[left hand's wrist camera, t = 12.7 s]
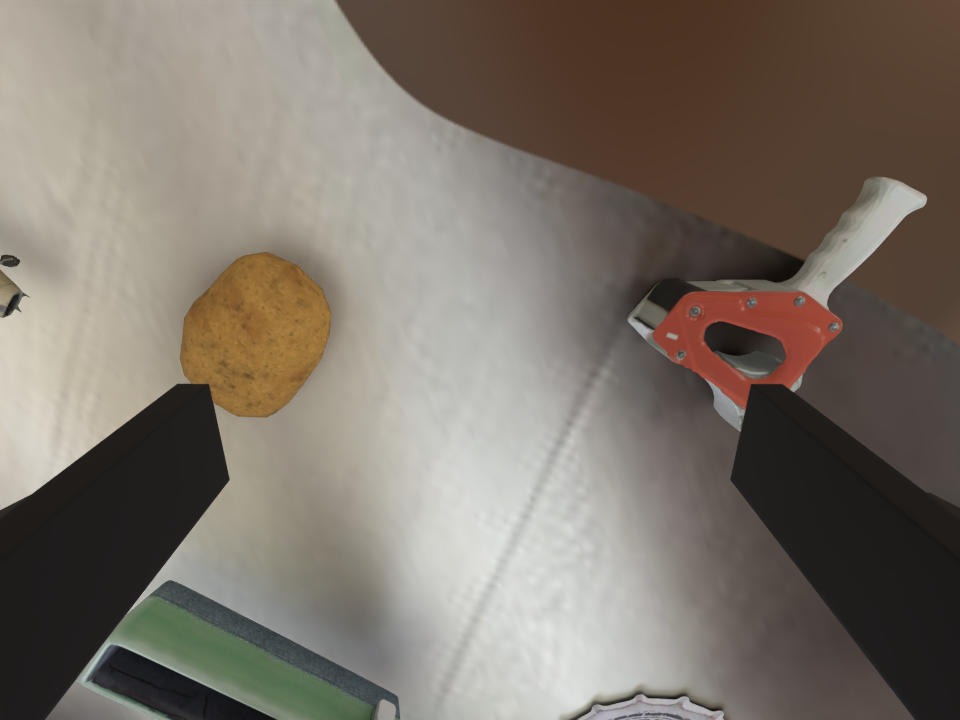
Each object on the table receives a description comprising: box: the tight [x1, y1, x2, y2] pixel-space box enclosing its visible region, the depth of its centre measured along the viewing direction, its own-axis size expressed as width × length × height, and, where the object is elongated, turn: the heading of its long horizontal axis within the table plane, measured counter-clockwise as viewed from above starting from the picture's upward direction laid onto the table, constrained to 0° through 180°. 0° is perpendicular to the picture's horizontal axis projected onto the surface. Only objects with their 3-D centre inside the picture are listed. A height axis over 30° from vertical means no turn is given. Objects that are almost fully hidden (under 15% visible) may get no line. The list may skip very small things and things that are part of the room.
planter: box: [77, 580, 400, 720], centre depth 46 cm, size 28×7×7 cm, turn 52°
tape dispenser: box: [627, 176, 927, 432], centre depth 38 cm, size 18×5×20 cm
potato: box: [180, 252, 331, 417], centre depth 37 cm, size 9×13×7 cm
